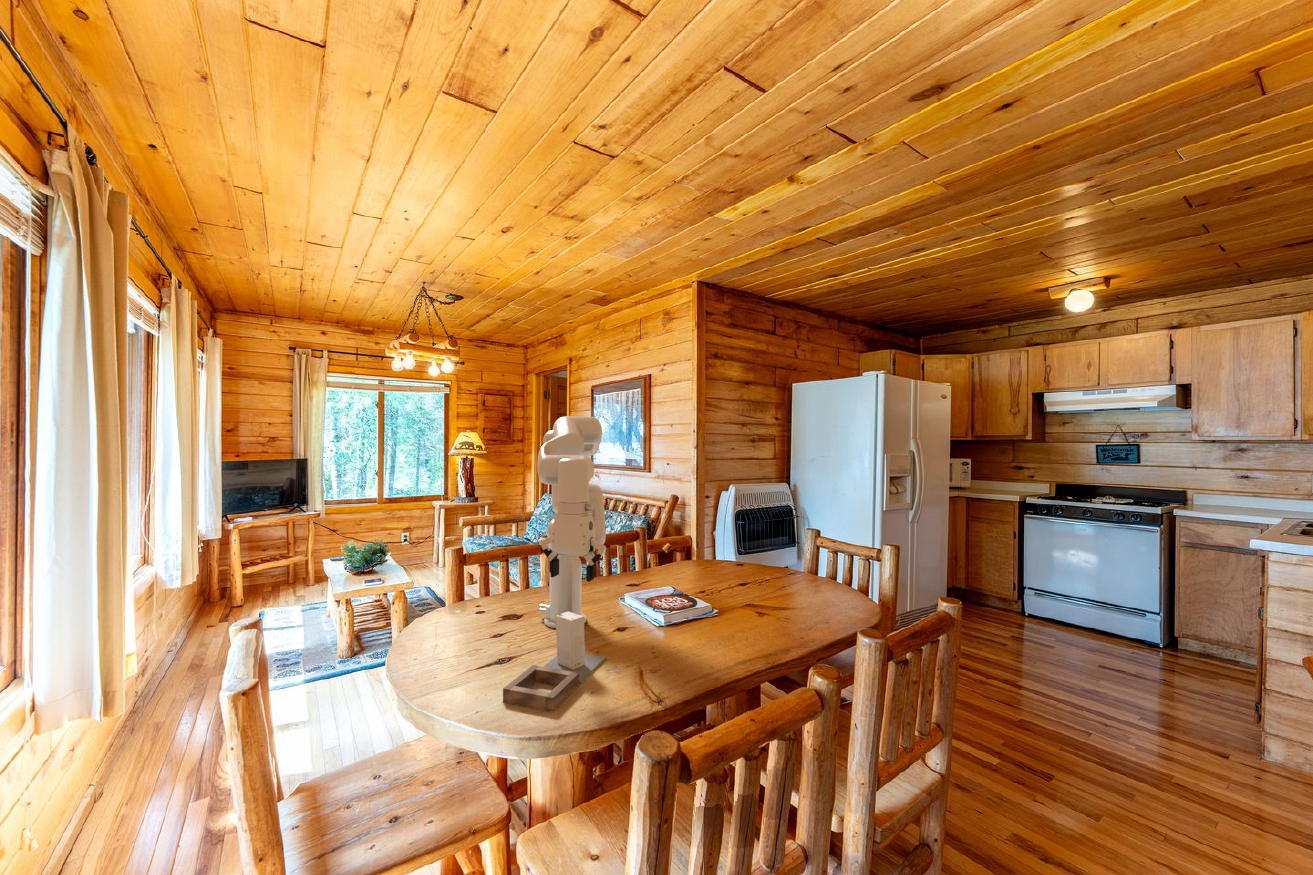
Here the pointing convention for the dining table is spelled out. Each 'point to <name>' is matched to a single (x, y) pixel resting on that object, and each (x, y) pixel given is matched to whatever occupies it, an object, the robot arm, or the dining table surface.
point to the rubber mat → (583, 671)
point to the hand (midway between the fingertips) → (572, 578)
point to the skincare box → (570, 640)
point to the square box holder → (540, 699)
